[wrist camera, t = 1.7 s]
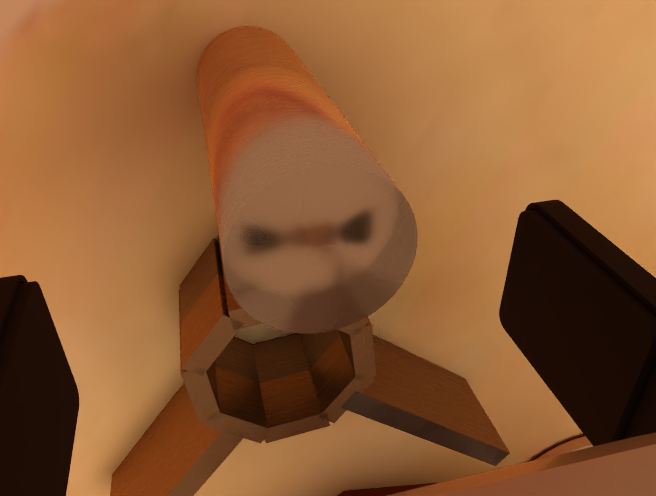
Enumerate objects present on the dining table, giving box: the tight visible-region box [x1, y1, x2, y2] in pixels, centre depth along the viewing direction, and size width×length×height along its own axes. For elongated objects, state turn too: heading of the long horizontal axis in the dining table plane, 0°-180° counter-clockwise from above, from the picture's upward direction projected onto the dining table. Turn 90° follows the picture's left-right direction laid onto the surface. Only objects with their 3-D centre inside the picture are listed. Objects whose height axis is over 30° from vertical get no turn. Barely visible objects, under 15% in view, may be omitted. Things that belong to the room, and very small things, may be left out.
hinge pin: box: [197, 26, 417, 333], centre depth 18 cm, size 4×4×14 cm
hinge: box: [110, 236, 510, 496], centre depth 32 cm, size 20×20×6 cm
